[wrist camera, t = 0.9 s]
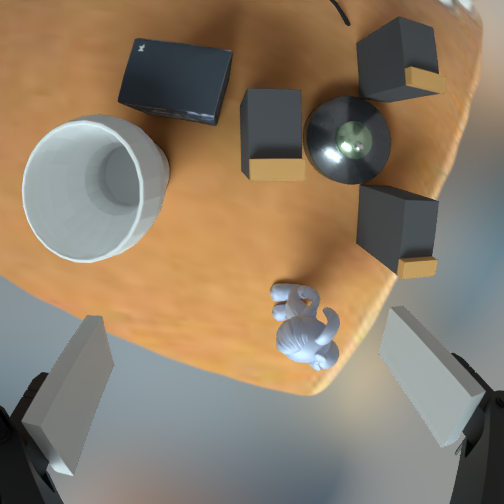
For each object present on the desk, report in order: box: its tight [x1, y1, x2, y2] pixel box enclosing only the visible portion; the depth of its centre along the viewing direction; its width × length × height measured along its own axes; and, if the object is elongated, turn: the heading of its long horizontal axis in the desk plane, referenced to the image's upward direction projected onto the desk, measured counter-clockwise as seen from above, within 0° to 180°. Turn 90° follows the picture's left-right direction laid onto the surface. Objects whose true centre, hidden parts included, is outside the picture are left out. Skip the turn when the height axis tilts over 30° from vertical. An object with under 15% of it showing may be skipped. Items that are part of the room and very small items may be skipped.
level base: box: [303, 96, 391, 185], centre depth 31 cm, size 10×10×4 cm
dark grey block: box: [356, 185, 439, 279], centre depth 30 cm, size 7×4×11 cm, turn 1°
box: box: [118, 38, 233, 126], centre depth 25 cm, size 8×6×11 cm
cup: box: [22, 114, 170, 263], centre depth 25 cm, size 11×11×15 cm
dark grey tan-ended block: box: [356, 17, 447, 103], centre depth 25 cm, size 7×4×11 cm, turn 1°
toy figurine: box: [270, 283, 340, 371], centre depth 33 cm, size 7×6×12 cm
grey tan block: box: [240, 89, 305, 181], centre depth 26 cm, size 7×4×11 cm, turn 1°
